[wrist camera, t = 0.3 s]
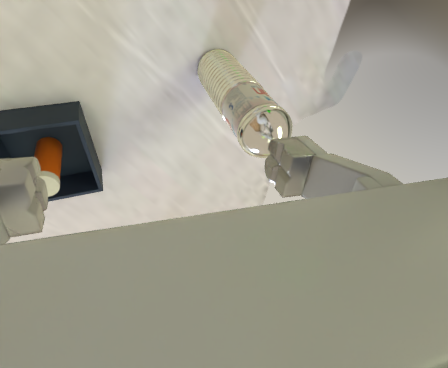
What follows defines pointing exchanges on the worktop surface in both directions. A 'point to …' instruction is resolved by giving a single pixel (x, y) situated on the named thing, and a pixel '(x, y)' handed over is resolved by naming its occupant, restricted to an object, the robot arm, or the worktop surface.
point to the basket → (62, 131)
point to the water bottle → (243, 103)
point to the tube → (49, 162)
